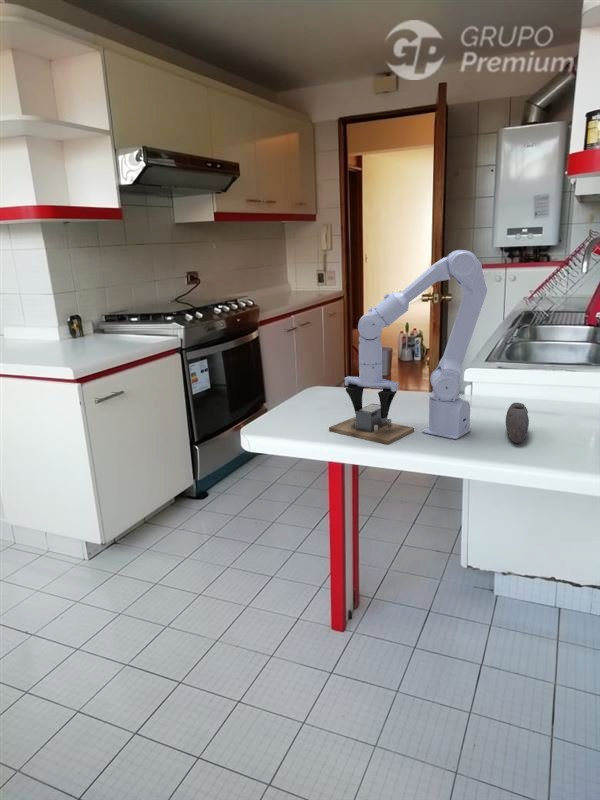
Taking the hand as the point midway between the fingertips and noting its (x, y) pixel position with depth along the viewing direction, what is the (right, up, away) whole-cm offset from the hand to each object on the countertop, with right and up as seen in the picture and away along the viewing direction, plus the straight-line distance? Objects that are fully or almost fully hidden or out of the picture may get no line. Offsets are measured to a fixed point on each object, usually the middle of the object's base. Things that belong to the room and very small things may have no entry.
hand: (371, 415), depth 143 cm
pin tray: (0, -4, +1) cm, 4 cm away
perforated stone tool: (+34, -5, -8) cm, 35 cm away
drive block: (0, -3, +1) cm, 3 cm away
